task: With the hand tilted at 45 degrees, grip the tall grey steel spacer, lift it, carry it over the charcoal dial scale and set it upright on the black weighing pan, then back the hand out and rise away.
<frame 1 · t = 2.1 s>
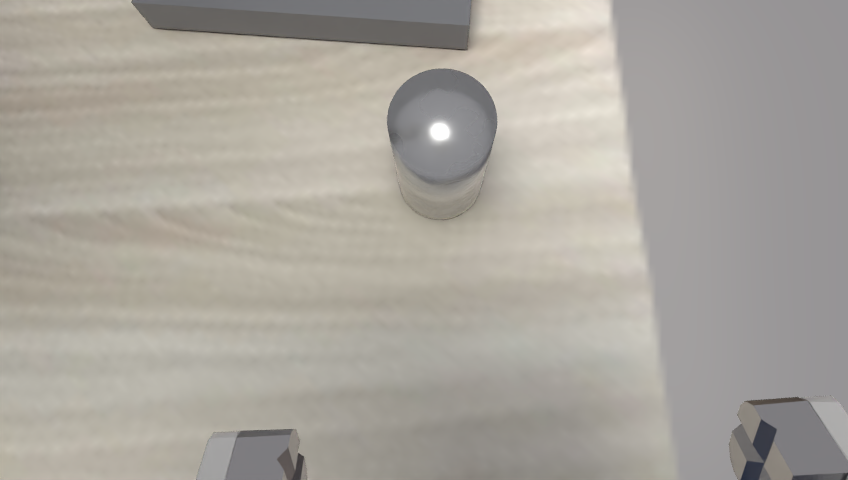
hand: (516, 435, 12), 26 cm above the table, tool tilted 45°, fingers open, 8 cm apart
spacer: (440, 179, 40), on the table
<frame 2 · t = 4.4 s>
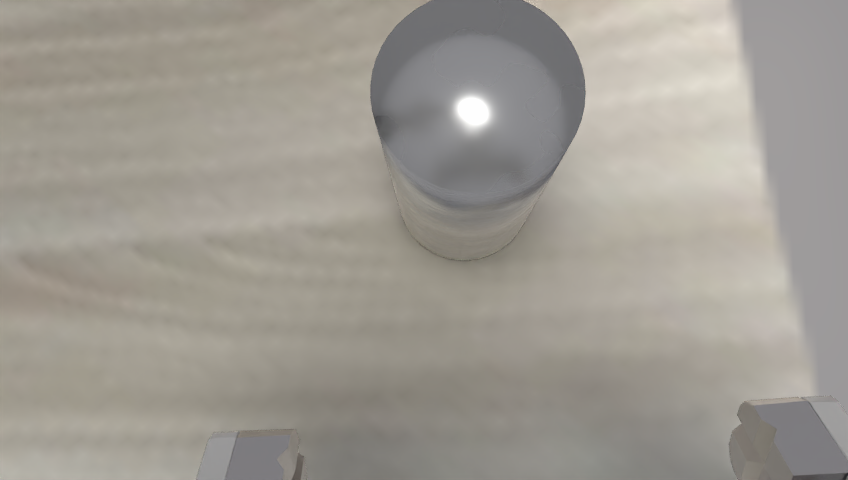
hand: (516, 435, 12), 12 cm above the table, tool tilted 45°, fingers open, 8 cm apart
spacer: (463, 195, 25), on the table
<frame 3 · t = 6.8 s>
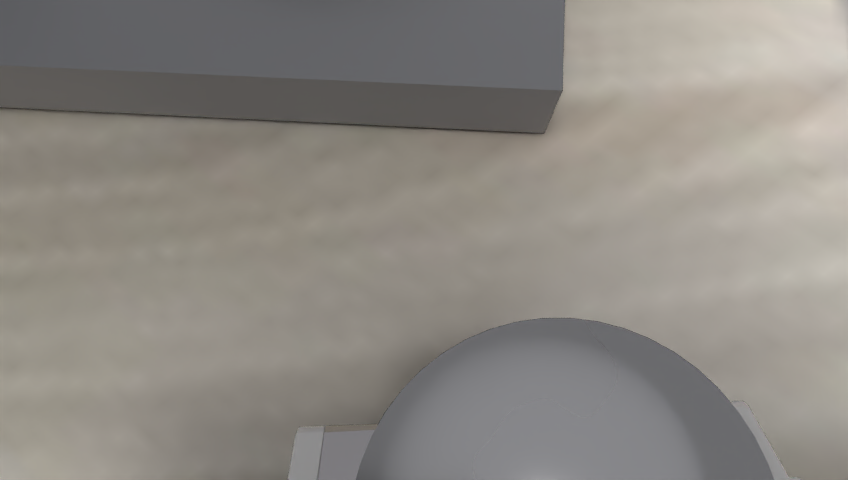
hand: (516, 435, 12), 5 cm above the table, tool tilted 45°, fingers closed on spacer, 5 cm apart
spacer: (496, 437, 17), on the table, touching gripper
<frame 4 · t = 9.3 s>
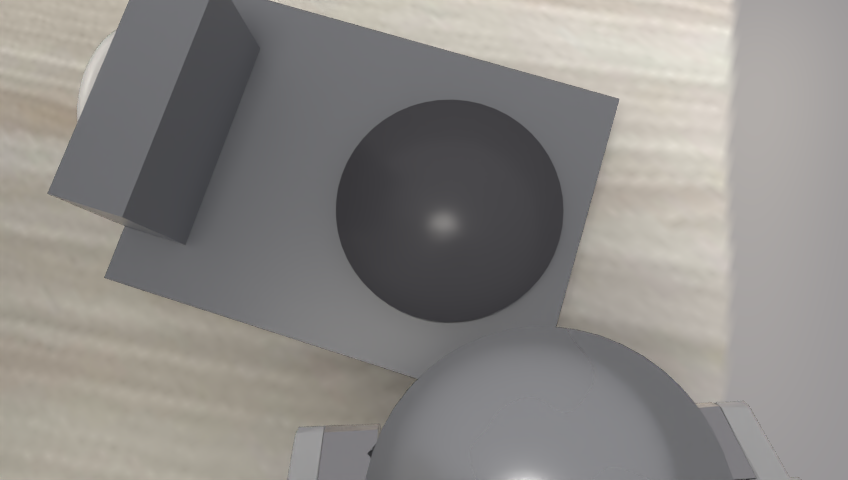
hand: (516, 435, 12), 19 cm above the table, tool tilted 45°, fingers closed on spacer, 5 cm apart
scale: (448, 225, 33), on the table
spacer: (493, 434, 19), point 13 cm above the table, touching gripper
when the fingers open (11 cm above the table, at t = 11.9 s): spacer stays where it is, resting on scale.
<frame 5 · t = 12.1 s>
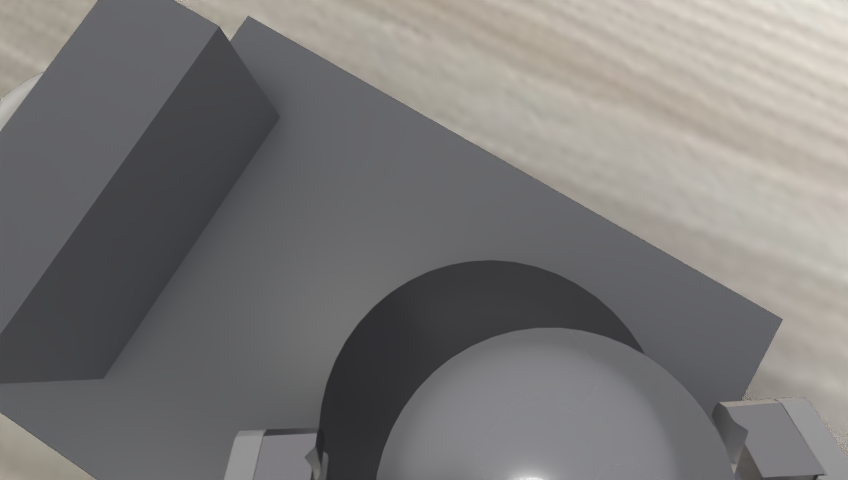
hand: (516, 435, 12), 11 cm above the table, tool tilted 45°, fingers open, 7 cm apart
scale: (483, 420, 23), on the table
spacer: (497, 433, 19), point 4 cm above the table, touching scale
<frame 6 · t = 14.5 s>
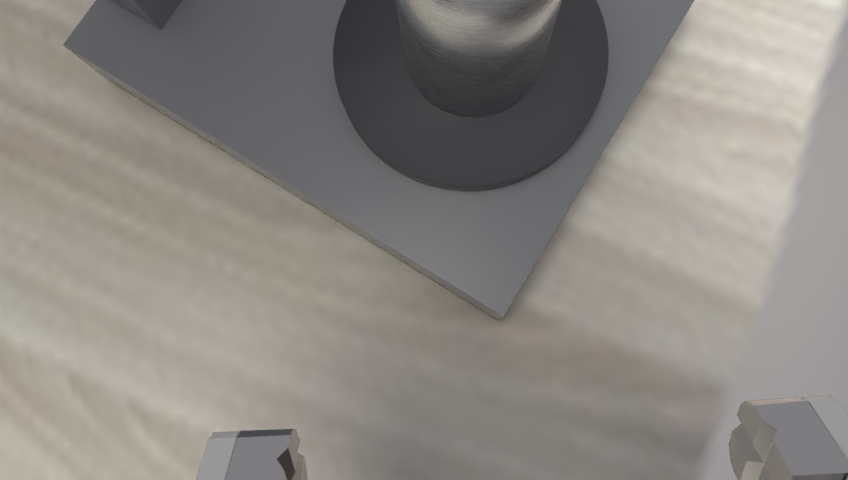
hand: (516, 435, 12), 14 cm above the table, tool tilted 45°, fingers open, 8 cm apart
scale: (467, 93, 28), on the table
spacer: (473, 51, 24), point 4 cm above the table, touching scale
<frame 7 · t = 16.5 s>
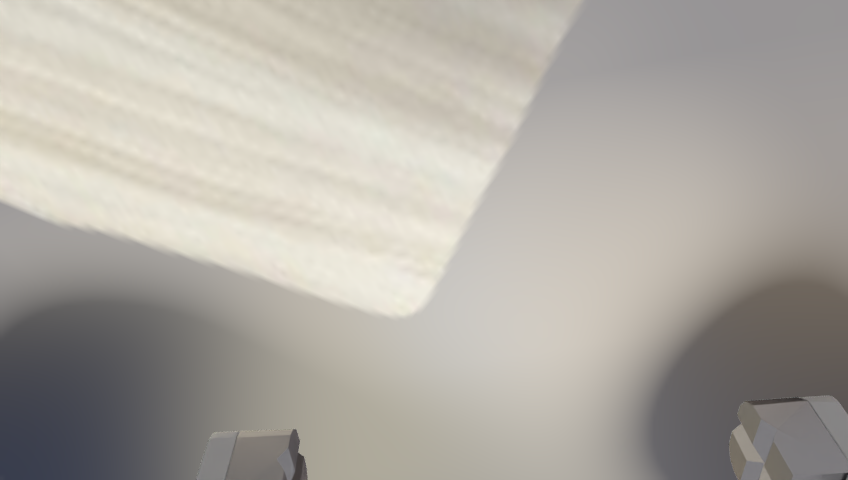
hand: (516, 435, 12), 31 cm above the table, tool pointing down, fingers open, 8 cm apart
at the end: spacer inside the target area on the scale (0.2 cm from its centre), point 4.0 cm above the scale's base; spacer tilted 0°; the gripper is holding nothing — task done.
